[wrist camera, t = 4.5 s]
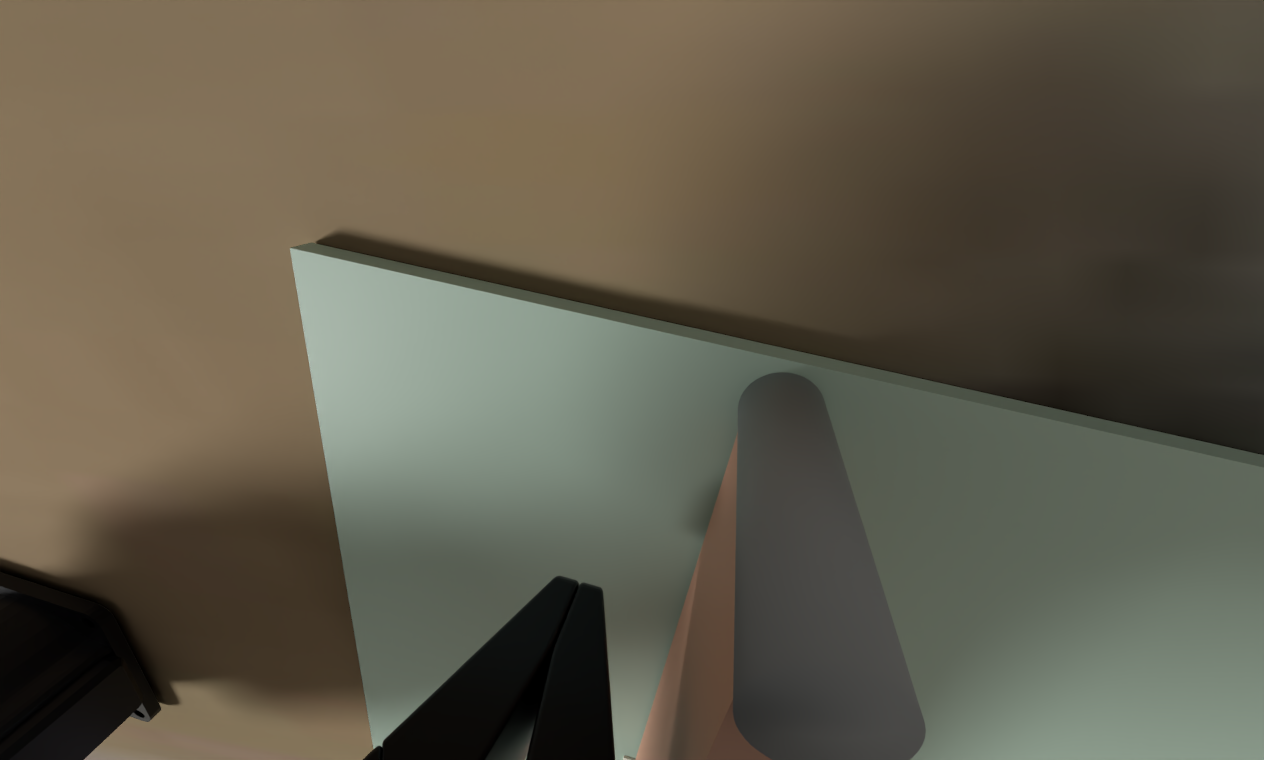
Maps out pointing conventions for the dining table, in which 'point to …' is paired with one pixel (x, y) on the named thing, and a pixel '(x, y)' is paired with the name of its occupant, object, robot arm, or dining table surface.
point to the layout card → (688, 489)
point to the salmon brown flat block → (784, 608)
